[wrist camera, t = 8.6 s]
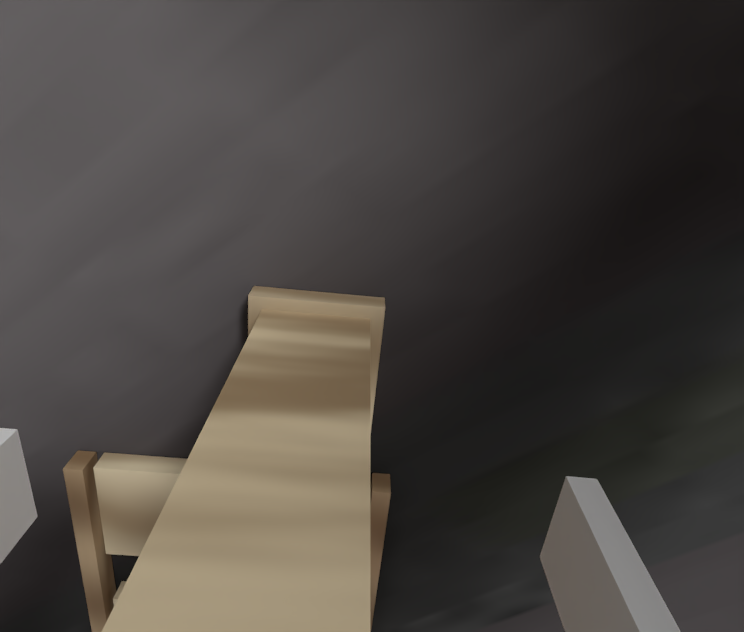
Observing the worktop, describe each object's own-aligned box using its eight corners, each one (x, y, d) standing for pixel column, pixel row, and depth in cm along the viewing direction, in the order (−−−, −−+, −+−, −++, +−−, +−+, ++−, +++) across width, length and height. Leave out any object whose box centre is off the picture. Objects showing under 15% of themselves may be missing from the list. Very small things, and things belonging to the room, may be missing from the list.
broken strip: (104, 452, 23) (93, 467, 22) (219, 461, 23) (212, 476, 22) (134, 670, 29) (126, 689, 28) (224, 675, 29) (219, 694, 28)
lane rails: (77, 450, 23) (63, 469, 22) (389, 474, 23) (390, 493, 22) (113, 668, 29) (102, 691, 28) (360, 683, 29) (360, 706, 28)
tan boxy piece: (253, 285, 20) (32, 656, 7) (384, 297, 20) (410, 678, 7) (252, 568, 26) (132, 1050, 13) (352, 575, 26) (334, 1056, 13)
